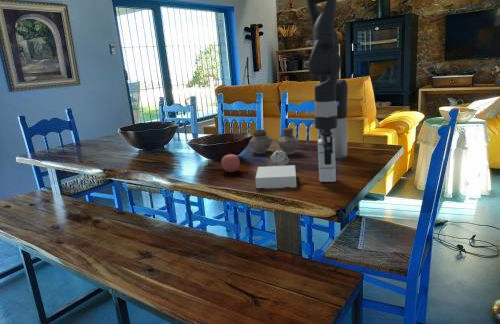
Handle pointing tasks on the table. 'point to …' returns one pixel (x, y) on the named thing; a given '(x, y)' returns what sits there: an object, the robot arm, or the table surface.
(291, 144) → the pottery
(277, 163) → the game die
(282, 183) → the stand
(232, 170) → the apple
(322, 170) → the syrup box
